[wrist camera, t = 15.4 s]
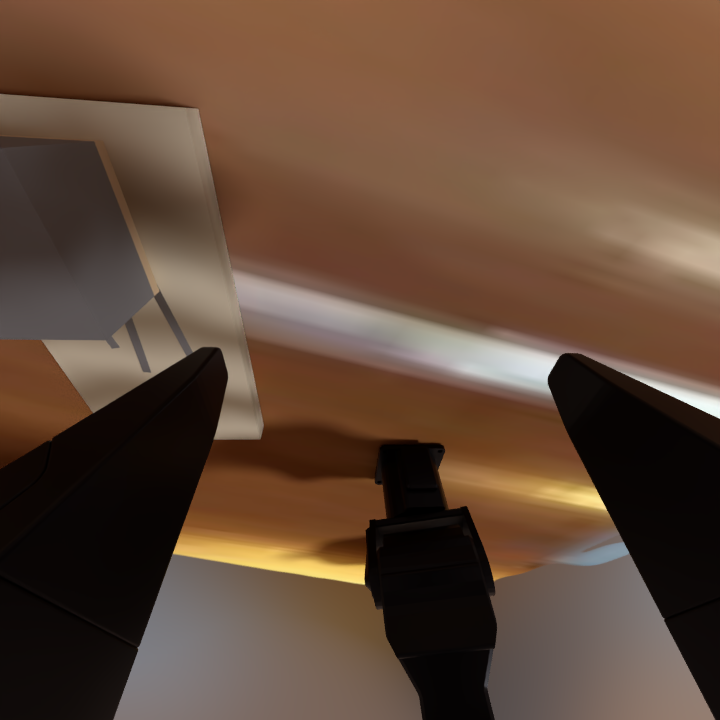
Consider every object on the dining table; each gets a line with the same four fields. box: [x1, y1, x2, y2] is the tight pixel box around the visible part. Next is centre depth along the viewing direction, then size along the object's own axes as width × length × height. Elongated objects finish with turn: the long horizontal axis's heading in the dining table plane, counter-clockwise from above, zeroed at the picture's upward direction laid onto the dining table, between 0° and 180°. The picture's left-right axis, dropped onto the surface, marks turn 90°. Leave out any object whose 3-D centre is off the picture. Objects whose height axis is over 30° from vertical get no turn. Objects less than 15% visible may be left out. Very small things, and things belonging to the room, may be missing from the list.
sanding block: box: [0, 135, 159, 340], centre depth 13 cm, size 7×4×5 cm, turn 177°
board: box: [0, 94, 264, 440], centre depth 20 cm, size 22×12×2 cm, turn 177°
